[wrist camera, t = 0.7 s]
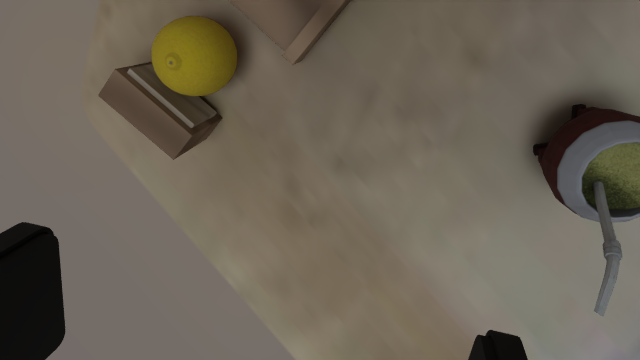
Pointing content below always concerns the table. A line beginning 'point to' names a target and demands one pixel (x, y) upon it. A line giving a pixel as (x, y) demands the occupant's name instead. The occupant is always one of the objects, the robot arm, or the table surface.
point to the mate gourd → (597, 175)
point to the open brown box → (159, 109)
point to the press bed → (292, 21)
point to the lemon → (194, 56)
